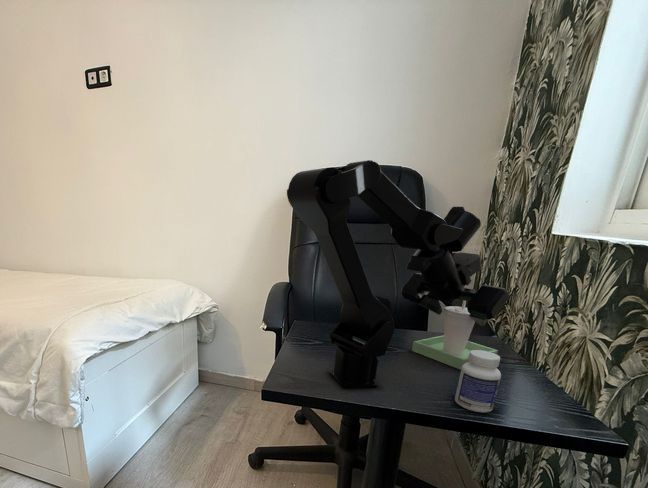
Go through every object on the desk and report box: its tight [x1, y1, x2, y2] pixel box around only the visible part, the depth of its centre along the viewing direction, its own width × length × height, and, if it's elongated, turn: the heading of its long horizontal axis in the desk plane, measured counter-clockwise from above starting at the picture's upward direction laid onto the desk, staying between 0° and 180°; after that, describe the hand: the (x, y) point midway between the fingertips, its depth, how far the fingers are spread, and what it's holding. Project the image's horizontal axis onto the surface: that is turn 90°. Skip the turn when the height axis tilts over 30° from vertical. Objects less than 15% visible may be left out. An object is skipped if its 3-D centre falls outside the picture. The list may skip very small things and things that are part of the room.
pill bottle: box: [454, 350, 502, 414], centre depth 57 cm, size 5×5×9 cm
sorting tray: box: [411, 334, 499, 371], centre depth 78 cm, size 12×11×2 cm
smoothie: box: [443, 300, 476, 355], centre depth 76 cm, size 6×6×14 cm
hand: (460, 318), depth 76 cm, fingers open, 9 cm apart
